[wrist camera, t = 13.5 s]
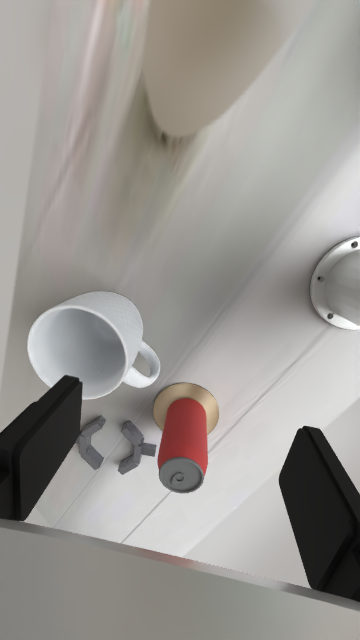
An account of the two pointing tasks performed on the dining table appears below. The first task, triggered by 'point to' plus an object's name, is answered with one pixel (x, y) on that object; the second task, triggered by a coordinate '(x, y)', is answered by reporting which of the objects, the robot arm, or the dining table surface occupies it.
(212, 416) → the disc
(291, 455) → the robot arm
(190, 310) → the dining table surface
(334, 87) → the dining table surface
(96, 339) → the mug
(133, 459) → the collar
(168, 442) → the beer can
